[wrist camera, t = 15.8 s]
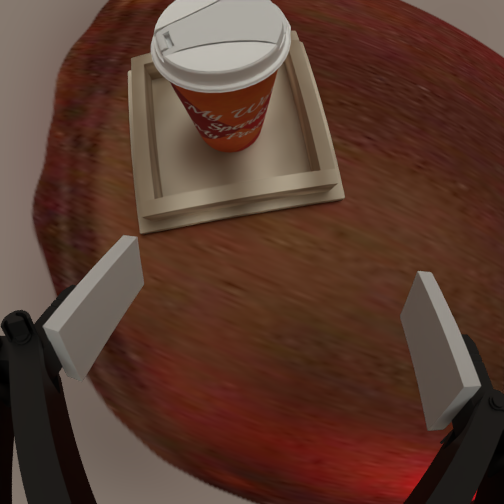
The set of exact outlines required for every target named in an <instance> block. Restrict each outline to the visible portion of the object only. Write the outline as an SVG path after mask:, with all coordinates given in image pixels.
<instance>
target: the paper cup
mask: <svg viewBox="0 0 504 504" xmlns="http://www.w3.org/2000/svg"><path fill="white" fill-rule="evenodd" d="M290 30H291V26H290V25H289V23H288V21H287V19H286V18H285V16H284V14H283V13H282V11H281V10H280V9H279V8H278V7H277V6H276V5H275V4H273V3H272V2H271V1H270V0H176V1H174V2H173V3H172V4H171V5H169V6H168V7H167V8H166V10H165V11H164V12H163V13H162V15H161V16H160V17H159V19H158V22H157V24H156V26H155V30H154V36H153V39H152V43H151V55H152V60H153V62H154V64H155V67H156V68H157V70H158V71H159V72H160V74H161V75H162V76H163V77H165V78H166V79H167V80H168V81H170V83H171V85H172V87H173V89H174V91H175V93H176V94H177V96H178V97H179V99H180V101H181V102H182V104H183V106H184V107H185V109H186V111H187V112H188V114H189V116H190V118H191V120H192V121H193V123H194V125H195V127H196V128H197V130H198V132H199V133H200V135H201V137H202V138H203V140H204V141H205V142H206V143H207V144H208V145H209V146H210V147H212V148H214V149H215V150H218V151H221V152H228V153H232V152H238V151H241V150H244V149H246V148H248V147H249V146H250V145H252V144H253V143H254V142H255V141H256V139H257V138H258V136H259V134H260V132H261V129H262V126H263V123H264V119H265V116H266V112H267V109H268V105H269V101H270V98H271V94H272V90H273V86H274V83H275V79H276V75H277V71H278V68H279V67H280V66H281V65H282V63H283V62H284V61H285V59H286V57H287V55H288V52H289V49H290V44H291V37H290Z"/></svg>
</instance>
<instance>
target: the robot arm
mask: <svg viewBox="0 0 504 504" xmlns="http://www.w3.org/2000/svg"><path fill="white" fill-rule="evenodd" d="M143 285H144V280H143V273H142V267H141V260H140V253H139V246H138V239H137V237H134V236H125V235H123V236H122V237H121V238H120V239H119V241H118V242H117V243H116V244H115V245H114V246H113V247H112V248H111V249H110V250H109V251H108V252H107V253H106V254H105V255H104V256H103V257H102V258H101V260H100V261H99V262H98V263H97V264H96V265H95V266H94V267H93V268H92V269H91V270H90V272H89V273H88V274H87V275H86V276H85V277H84V278H83V279H82V281H81V282H80V283H79V284H78V285H77V286H76V285H71V286H70V287H68V288H66V289H65V290H63V291H62V292H61V293H60V295H59V296H58V297H57V298H56V300H54V301H53V303H52V304H51V306H49V307H48V309H47V310H46V311H45V312H44V313H43V314H42V315H41V317H40V318H39V319H38V320H37V321H36V323H35V324H33V322H32V319H31V317H30V315H29V313H27V312H26V311H23V310H18V311H14V312H12V313H10V314H9V315H7V316H6V317H5V318H4V319H3V321H2V323H1V328H2V330H3V332H4V334H5V335H6V336H0V504H12V460H13V459H12V458H13V443H14V436H15V443H16V450H17V455H18V461H19V467H20V472H21V477H22V481H23V486H24V490H25V494H26V498H27V501H28V504H97V503H96V500H95V498H94V495H93V493H92V490H91V487H90V484H89V482H88V479H87V476H86V473H85V470H84V467H83V464H82V461H81V458H80V455H79V451H78V448H77V445H76V441H75V438H74V434H73V430H72V427H71V423H70V419H69V414H68V410H67V406H66V401H65V397H64V392H63V387H62V382H61V378H60V376H59V371H60V370H61V368H62V367H63V369H64V371H65V373H66V375H67V376H68V377H71V378H74V379H76V380H79V381H83V380H84V378H85V376H86V375H87V373H88V371H89V370H90V368H91V366H92V365H93V363H94V361H95V360H96V358H97V356H98V355H99V353H100V352H101V350H102V348H103V347H104V345H105V343H106V342H107V340H108V339H109V337H110V336H111V334H112V332H113V331H114V329H115V328H116V326H117V325H118V323H119V321H120V320H121V318H122V317H123V315H124V314H125V312H126V311H127V309H128V308H129V306H130V304H131V303H132V301H133V300H134V298H135V297H136V295H137V294H138V292H139V291H140V289H141V288H142V286H143ZM400 318H401V322H402V325H403V329H404V332H405V336H406V339H407V343H408V346H409V350H410V354H411V358H412V362H413V366H414V370H415V374H416V378H417V382H418V387H419V391H420V395H421V400H422V405H423V410H424V415H425V420H426V425H427V430H428V431H430V430H442V429H445V428H446V427H447V426H448V424H449V423H450V422H451V421H452V424H453V428H454V429H453V430H452V431H451V432H450V433H449V434H448V435H447V436H446V437H445V438H444V439H443V440H442V441H441V442H440V443H441V444H442V443H443V442H444V441H445V442H444V444H443V445H442V447H441V449H440V450H439V452H438V454H437V455H436V457H435V458H434V460H433V462H432V463H431V465H430V466H429V468H428V469H427V471H426V472H425V474H424V475H423V477H422V478H421V480H420V481H419V483H418V484H417V486H416V487H415V488H414V490H413V491H412V493H411V494H410V495H409V497H408V498H407V499H406V501H405V502H404V503H403V504H470V502H471V500H472V499H473V497H474V495H475V493H476V491H477V493H476V497H475V501H474V504H504V394H503V393H501V392H500V391H498V390H494V389H493V387H492V384H491V381H490V379H489V376H488V373H487V371H486V368H485V366H484V363H482V359H481V356H480V355H479V352H478V349H477V347H476V345H475V343H474V342H473V340H472V339H471V338H470V337H469V336H468V335H462V334H461V333H460V331H459V329H458V326H457V324H456V322H455V320H454V318H453V315H452V313H451V311H450V309H449V307H448V305H447V303H446V300H445V298H444V296H443V294H442V292H441V290H440V288H439V286H438V284H437V282H436V280H435V278H434V276H433V275H432V273H431V272H423V271H417V274H416V277H415V279H414V282H413V285H412V287H411V290H410V293H409V295H408V298H407V300H406V303H405V305H404V308H403V310H402V313H401V315H400ZM477 489H478V490H477Z"/></svg>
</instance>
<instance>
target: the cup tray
mask: <svg viewBox="0 0 504 504" xmlns="http://www.w3.org/2000/svg"><path fill="white" fill-rule="evenodd" d="M290 37H291V44H290V49H289V52H288V55H287V57H286V59H285V61H284V62H283V63H282V65H281V66H280V67H279V68H278V71H277V75H276V79H275V83H274V86H273V90H272V94H271V98H270V101H269V105H268V109H267V112H266V116H265V119H264V123H263V126H262V129H261V132H260V134H259V136H258V138H257V139H256V141H255V142H254V143H253V144H252V145H250V146H249V147H248V148H246V149H244V150H241V151H238V152H232V153H228V152H221V151H218V150H215V149H214V148H212V147H210V146H209V145H208V144H207V143H206V142H205V141H204V140H203V138H202V137H201V135H200V133H199V132H198V130H197V128H196V127H195V125H194V123H193V121H192V120H191V118H190V116H189V114H188V112H187V111H186V109H185V107H184V106H183V104H182V102H181V101H180V99H179V97H178V96H177V94H176V93H175V91H174V89H173V87H172V85H171V83H170V81H168V80H167V79H166V78H165V77H163V76H162V75H161V74H160V72H159V71H158V70H157V68H156V67H155V64H154V62H153V60H152V55H151V53H149V54H145V55H141V56H138V57H134V58H131V71H128V96H129V121H130V138H131V153H132V165H133V176H134V186H135V196H136V204H137V213H138V221H139V228H140V234H148V233H153V232H158V231H163V230H169V229H174V228H179V227H184V226H189V225H195V224H200V223H206V222H211V221H217V220H222V219H228V218H233V217H239V216H245V215H251V214H256V213H262V212H268V211H274V210H280V209H287V208H293V207H299V206H306V205H312V204H318V203H325V202H332V201H338V200H343V199H344V198H345V196H344V191H343V186H342V182H341V177H340V173H339V169H338V164H337V160H336V156H335V152H334V148H333V144H332V140H331V136H330V132H329V128H328V125H327V121H326V117H325V114H324V110H323V106H322V103H321V99H320V96H319V93H318V89H317V86H316V82H315V79H314V76H313V73H312V70H311V66H310V63H309V60H308V57H307V54H306V51H305V48H304V45H303V42H299V39H298V36H297V33H296V31H290Z"/></svg>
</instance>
